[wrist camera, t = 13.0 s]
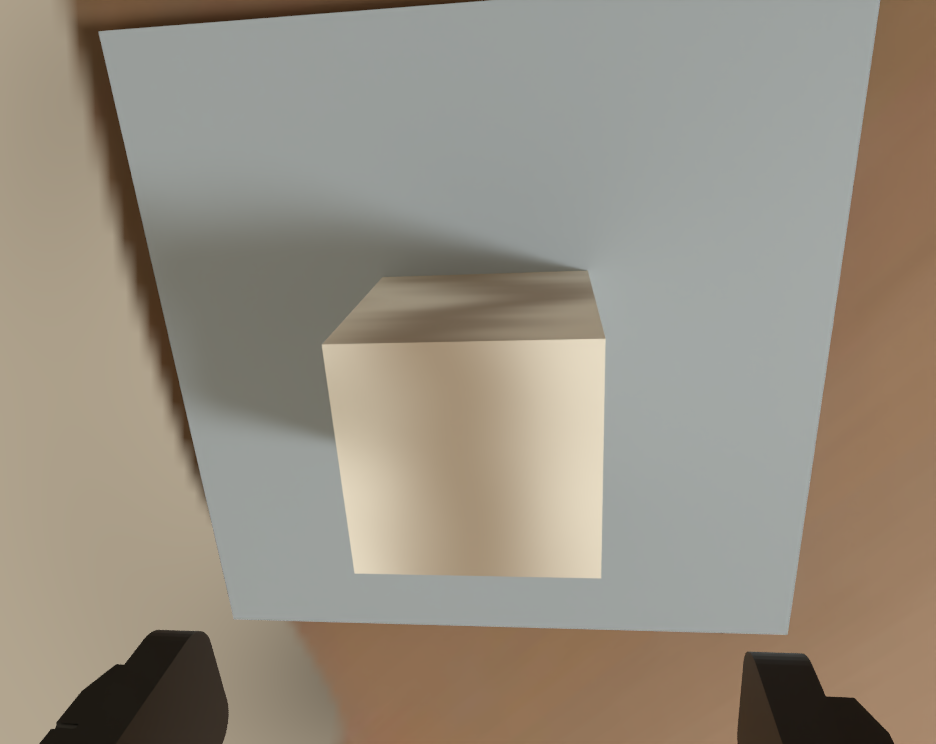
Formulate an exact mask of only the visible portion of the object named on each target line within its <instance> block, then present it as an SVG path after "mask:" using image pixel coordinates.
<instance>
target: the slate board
mask: <svg viewBox="0 0 936 744" xmlns="http://www.w3.org/2000/svg"><path fill="white" fill-rule="evenodd" d="M879 5H880V0H489V1H476V2H463V3H451V4H438V5H425V6H413V7H400V8H387V9H375V10H362V11H349V12H337V13H324V14H311V15H299V16H286V17H274V18H261V19H248V20H236V21H223V22H210V23H198V24H185V25H172V26H160V27H147V28H134V29H122V30H109V31H98V32H99V36H100V41H101V45H102V49H103V54H104V58H105V62H106V67H107V71H108V75H109V80H110V84H111V88H112V93H113V97H114V101H115V106H116V110H117V114H118V119H119V123H120V127H121V132H122V136H123V141H124V145H125V149H126V154H127V158H128V162H129V167H130V171H131V175H132V180H133V184H134V188H135V193H136V197H137V201H138V206H139V210H140V214H141V219H142V223H143V227H144V232H145V236H146V240H147V245H148V249H149V253H150V258H151V262H152V266H153V271H154V275H155V279H156V284H157V288H158V292H159V297H160V301H161V305H162V310H163V314H164V318H165V323H166V327H167V331H168V336H169V340H170V344H171V349H172V353H173V357H174V362H175V366H176V370H177V375H178V379H179V384H180V388H181V392H182V397H183V401H184V405H185V410H186V414H187V418H188V423H189V427H190V431H191V436H192V440H193V444H194V449H195V453H196V457H197V462H198V466H199V470H200V475H201V479H202V483H203V488H204V492H205V496H206V501H207V505H208V509H209V514H210V518H211V522H212V527H213V531H214V535H215V540H216V544H217V548H218V553H219V557H220V561H221V566H222V570H223V574H224V579H225V583H226V587H227V592H228V596H229V600H230V604H231V609H232V614H233V618H234V619H244V620H278V621H281V620H282V621H314V622H350V623H385V624H421V625H457V626H493V627H529V628H565V629H600V630H636V631H672V632H708V633H744V634H779V635H788V628H789V621H790V614H791V608H792V601H793V594H794V587H795V580H796V573H797V566H798V560H799V553H800V546H801V539H802V532H803V525H804V519H805V512H806V505H807V498H808V491H809V484H810V477H811V471H812V464H813V457H814V450H815V443H816V436H817V430H818V423H819V416H820V409H821V402H822V395H823V388H824V382H825V375H826V368H827V361H828V354H829V347H830V341H831V334H832V327H833V320H834V313H835V306H836V299H837V293H838V286H839V279H840V272H841V265H842V258H843V252H844V245H845V238H846V231H847V224H848V217H849V210H850V204H851V197H852V190H853V183H854V176H855V169H856V163H857V156H858V149H859V142H860V135H861V128H862V121H863V115H864V108H865V101H866V94H867V87H868V80H869V74H870V67H871V60H872V53H873V46H874V39H875V32H876V26H877V19H878V12H879ZM558 271H588V273H589V277H590V281H591V285H592V289H593V292H594V296H595V300H596V304H597V308H598V312H599V315H600V319H601V323H602V327H603V331H604V335H605V338H606V344H605V398H604V452H603V506H602V560H601V578H553V577H502V576H452V575H401V574H355V573H354V566H353V559H352V552H351V545H350V538H349V531H348V525H347V518H346V511H345V504H344V497H343V490H342V483H341V476H340V469H339V462H338V455H337V448H336V441H335V434H334V427H333V420H332V413H331V406H330V399H329V392H328V385H327V378H326V371H325V364H324V357H323V350H322V344H323V342H324V341H325V340H326V339H327V338H328V337H329V336H330V335H331V334H332V332H333V331H334V330H335V329H336V328H337V327H338V326H339V325H340V324H341V323H342V321H343V320H344V319H345V318H346V317H347V316H348V315H349V314H350V313H351V311H352V310H353V309H354V308H355V307H356V306H357V305H358V304H359V303H360V301H361V300H362V299H363V298H364V297H365V296H366V295H367V294H368V293H369V291H370V290H371V289H372V288H373V287H374V286H375V285H376V284H377V283H378V282H379V280H380V279H381V278H382V277H401V276H432V275H463V274H495V273H526V272H558Z"/></svg>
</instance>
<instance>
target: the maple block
mask: <svg viewBox="0 0 936 744" xmlns="http://www.w3.org/2000/svg"><path fill="white" fill-rule="evenodd" d="M605 344H606V338H605V335H604V331H603V327H602V323H601V319H600V315H599V312H598V308H597V304H596V300H595V296H594V292H593V289H592V285H591V281H590V277H589V273H588V271H558V272H526V273H495V274H463V275H432V276H401V277H382V278H381V279H380V280H379V282H378V283H377V284H376V285H375V286H374V287H373V288H372V289H371V290H370V291H369V293H368V294H367V295H366V296H365V297H364V298H363V299H362V300H361V301H360V303H359V304H358V305H357V306H356V307H355V308H354V309H353V310H352V311H351V313H350V314H349V315H348V316H347V317H346V318H345V319H344V320H343V321H342V323H341V324H340V325H339V326H338V327H337V328H336V329H335V330H334V331H333V332H332V334H331V335H330V336H329V337H328V338H327V339H326V340H325V341H324V342H323V344H322V350H323V357H324V364H325V371H326V378H327V385H328V392H329V399H330V406H331V413H332V420H333V427H334V434H335V441H336V448H337V455H338V462H339V469H340V476H341V483H342V490H343V497H344V504H345V511H346V518H347V525H348V531H349V538H350V545H351V552H352V559H353V566H354V573H355V574H401V575H452V576H502V577H553V578H601V560H602V506H603V452H604V398H605Z"/></svg>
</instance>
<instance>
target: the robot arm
mask: <svg viewBox="0 0 936 744" xmlns="http://www.w3.org/2000/svg"><path fill="white" fill-rule="evenodd" d="M227 724H228V703H227V699H226V695H225V692H224V688H223V684H222V681H221V677H220V674H219V670H218V667H217V663H216V659H215V656H214V652H213V649H212V645H211V642H210V639H209V637H208V636H207V635H206V634H205V633H204V632H201V631H174V630H172V631H171V630H156V631H153V632H151V633H150V634H149V635H148V636H146V638H145V639H144V640H143V641H142V643H141V644H140V645H139V646H138V648H137V649H136V650H135V652H134V653H133V654H132V655H131V657H130V658H129V659H128V661H127V662H126V663H125V665H119V664H117V665H115V666H114V667H112V668H111V669H110V670H108V671H107V672H106V673H104V674H103V675H102V676H101V677H99V678H98V679H97V680H95V681H94V682H93V683H92V684H90V685H89V686H88V687H87V688H85V689H84V690H83V691H82V692H81V693H80V694H79V695H78V697H77V698H76V699H75V701H73V703H72V704H71V705H70V707H69V708H68V709H67V710H66V711H65V713H64V714H63V715H62V716H61V718H60V719H59V720H58V721H57V725H56V728H55V729H51V730H50V731H49V732H48V734H47V735H46V736H45V737H44V739H43V740H42V741H41V742H40V744H222V743H223V740H224V737H225V734H226V730H227ZM737 740H738V744H894V742H893V740H892V738H891V736H890V734H889V733H888V732H887V731H886V730H885V729H884V728H883V727H882V726H881V725H880V724H879V723H878V722H877V721H876V720H875V719H874V718H873V717H872V716H871V714H870V713H869V712H868V711H867V710H866V709H865V708H864V707H863V706H862V705H861V704H860V703H859V702H858V701H857V700H856V699H855V698H846V697H826V696H825V694H824V691H823V689H822V687H821V684H820V682H819V680H818V677H817V675H816V673H815V671H814V668H813V666H812V664H811V662H810V660H809V658H808V657H807V656H806V655H805V654H800V653H770V652H747V653H746V654H745V657H744V663H743V674H742V685H741V697H740V708H739V719H738V732H737Z"/></svg>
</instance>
